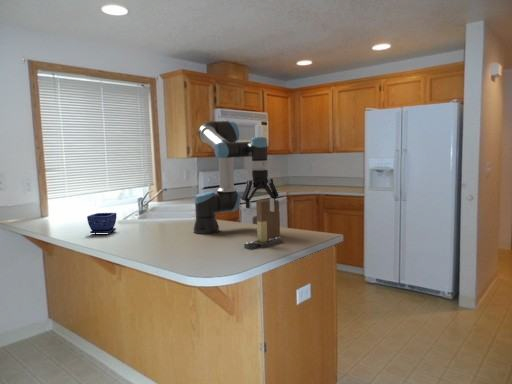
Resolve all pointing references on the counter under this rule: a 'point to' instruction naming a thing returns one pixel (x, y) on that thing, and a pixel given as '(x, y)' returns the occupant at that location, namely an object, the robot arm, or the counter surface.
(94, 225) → the flower pot
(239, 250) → the counter surface
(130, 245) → the counter surface
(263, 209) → the wooden block
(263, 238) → the pin
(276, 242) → the ball-studded metal bracket
